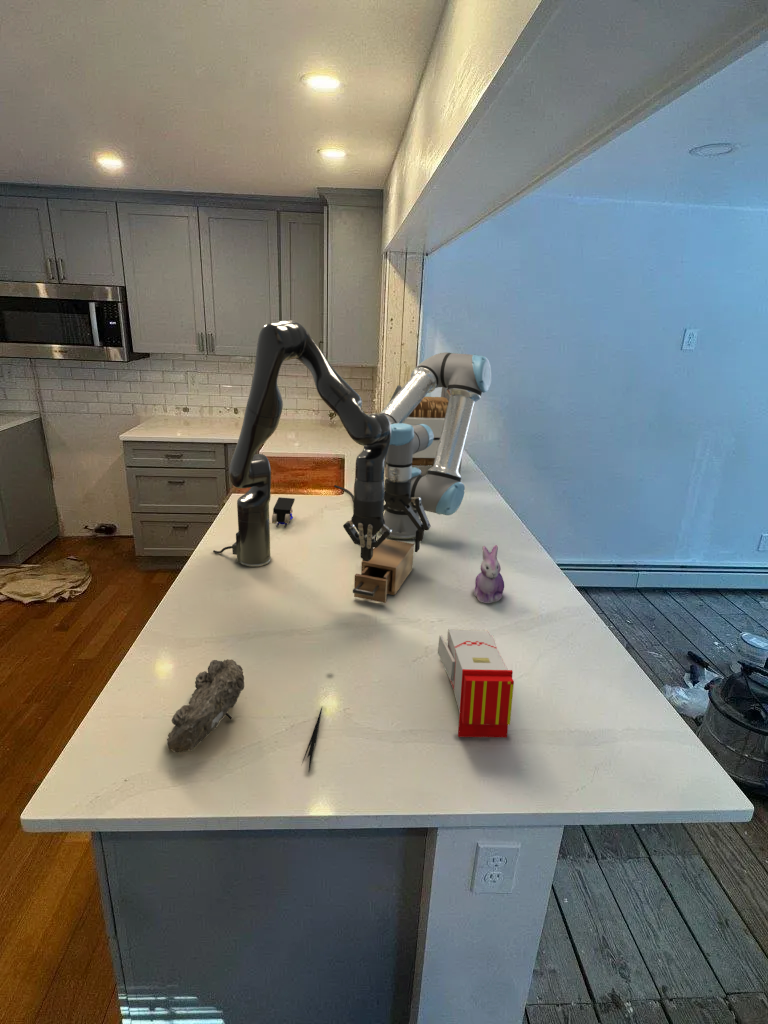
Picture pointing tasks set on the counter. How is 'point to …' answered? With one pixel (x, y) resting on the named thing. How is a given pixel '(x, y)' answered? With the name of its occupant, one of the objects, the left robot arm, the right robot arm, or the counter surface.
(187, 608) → the counter surface
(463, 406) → the right robot arm
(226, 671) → the fossil
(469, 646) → the toy
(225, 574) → the counter surface
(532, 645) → the counter surface
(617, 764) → the counter surface
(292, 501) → the figurine character
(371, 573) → the drawer
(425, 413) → the grey tiered rack
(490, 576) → the figurine
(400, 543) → the cabinet
